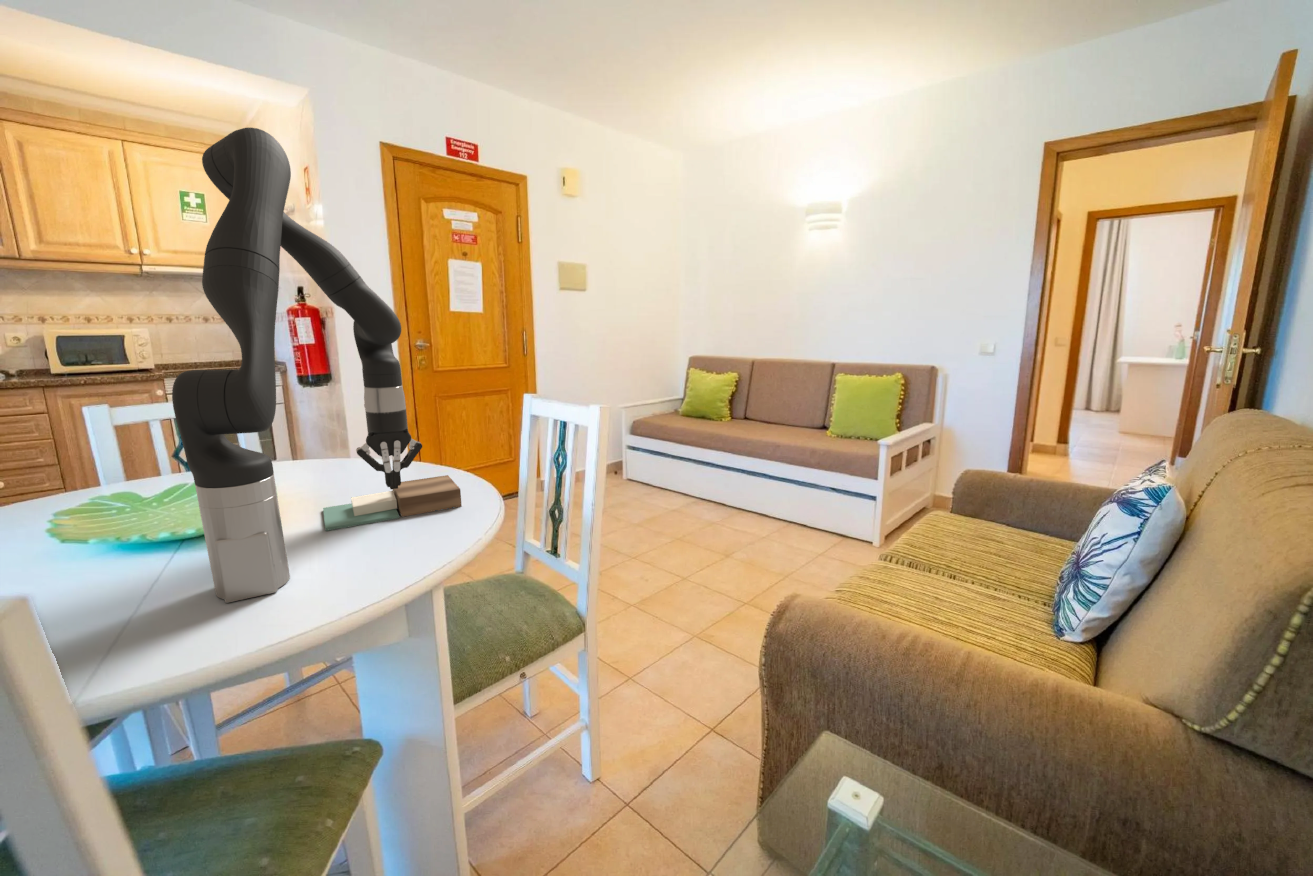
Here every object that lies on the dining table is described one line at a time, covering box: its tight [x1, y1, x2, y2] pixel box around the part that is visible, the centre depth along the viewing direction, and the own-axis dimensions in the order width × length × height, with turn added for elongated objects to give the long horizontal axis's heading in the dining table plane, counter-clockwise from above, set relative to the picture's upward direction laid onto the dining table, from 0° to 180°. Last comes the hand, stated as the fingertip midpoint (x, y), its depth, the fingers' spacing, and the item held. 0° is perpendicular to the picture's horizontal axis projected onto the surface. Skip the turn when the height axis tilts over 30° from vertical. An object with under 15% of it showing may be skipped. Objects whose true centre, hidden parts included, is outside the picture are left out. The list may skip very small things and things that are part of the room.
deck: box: [392, 474, 462, 518], centre depth 118 cm, size 12×12×4 cm
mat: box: [322, 502, 400, 532], centre depth 112 cm, size 13×13×1 cm
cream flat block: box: [350, 490, 398, 516], centre depth 113 cm, size 6×8×2 cm
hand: (394, 488), depth 114 cm, fingers closed
